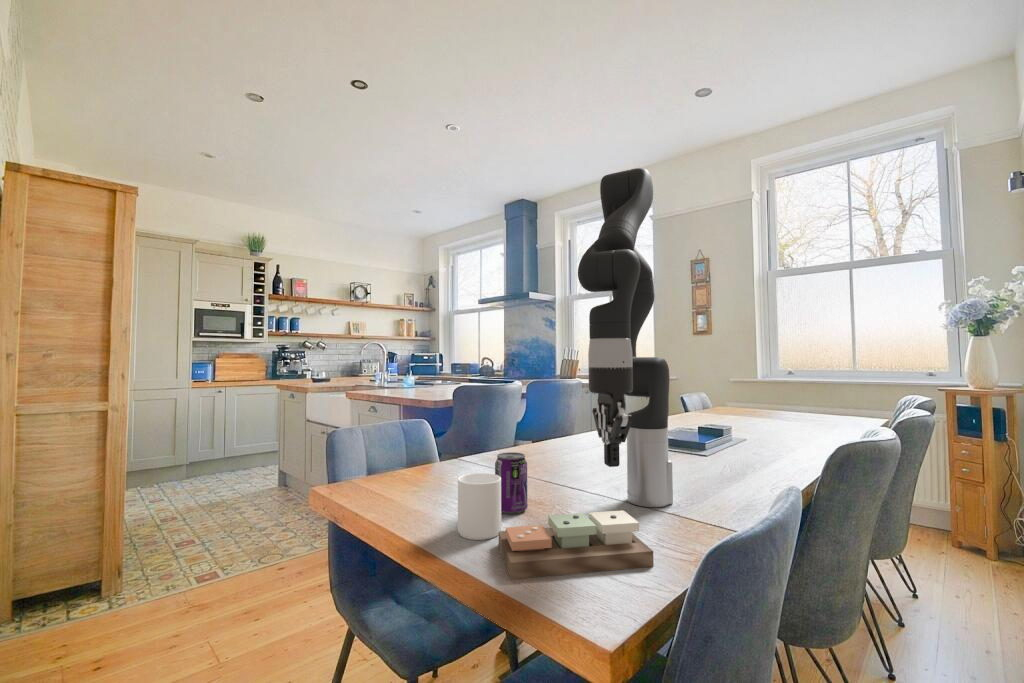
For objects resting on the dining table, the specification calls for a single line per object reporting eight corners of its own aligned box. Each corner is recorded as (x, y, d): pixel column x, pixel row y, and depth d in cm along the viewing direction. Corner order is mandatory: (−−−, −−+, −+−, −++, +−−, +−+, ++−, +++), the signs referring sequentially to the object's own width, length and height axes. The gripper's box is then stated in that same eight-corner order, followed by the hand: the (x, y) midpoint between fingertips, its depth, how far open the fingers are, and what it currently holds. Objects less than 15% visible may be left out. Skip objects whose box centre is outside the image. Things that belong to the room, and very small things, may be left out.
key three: (542, 547, 81) (542, 523, 81) (551, 563, 75) (551, 537, 75) (505, 550, 80) (505, 526, 80) (512, 567, 74) (512, 540, 74)
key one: (623, 532, 84) (623, 509, 84) (639, 546, 78) (639, 521, 78) (589, 534, 83) (589, 511, 83) (602, 549, 76) (602, 524, 77)
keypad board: (620, 536, 87) (620, 522, 87) (653, 566, 74) (653, 551, 74) (498, 545, 83) (498, 531, 83) (510, 578, 70) (510, 562, 71)
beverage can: (524, 516, 98) (524, 459, 99) (491, 514, 100) (491, 457, 100) (530, 506, 105) (529, 452, 106) (499, 504, 107) (499, 451, 107)
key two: (583, 535, 83) (583, 511, 83) (596, 549, 76) (596, 524, 76) (548, 537, 81) (548, 514, 82) (558, 552, 75) (558, 527, 75)
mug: (459, 519, 97) (459, 469, 97) (499, 518, 97) (499, 468, 98) (456, 541, 85) (456, 484, 85) (502, 540, 85) (502, 483, 86)
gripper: (647, 365, 75) (649, 474, 75) (616, 364, 88) (617, 456, 88) (603, 366, 74) (604, 476, 74) (577, 364, 87) (579, 458, 87)
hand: (611, 465), depth 81 cm, fingers closed
